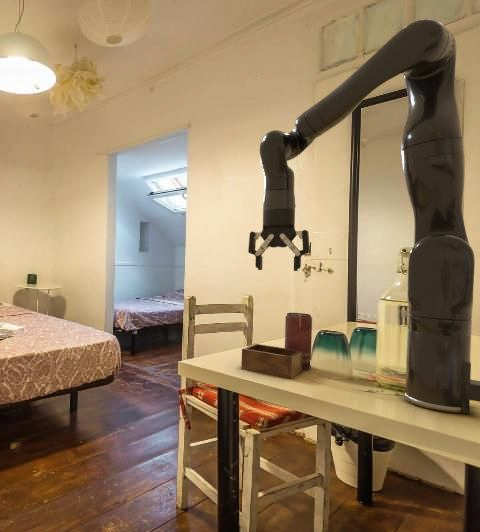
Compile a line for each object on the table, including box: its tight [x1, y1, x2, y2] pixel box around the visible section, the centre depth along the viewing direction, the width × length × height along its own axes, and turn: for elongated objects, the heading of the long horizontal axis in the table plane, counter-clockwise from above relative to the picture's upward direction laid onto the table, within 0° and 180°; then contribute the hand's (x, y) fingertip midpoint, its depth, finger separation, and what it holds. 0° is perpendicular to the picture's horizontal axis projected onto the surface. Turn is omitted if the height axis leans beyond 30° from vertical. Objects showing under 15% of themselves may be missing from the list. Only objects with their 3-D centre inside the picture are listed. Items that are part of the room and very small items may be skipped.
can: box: [284, 312, 313, 371], centre depth 103 cm, size 6×6×14 cm
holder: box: [240, 343, 303, 380], centre depth 100 cm, size 12×10×5 cm
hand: (277, 270), depth 104 cm, fingers open, 8 cm apart
